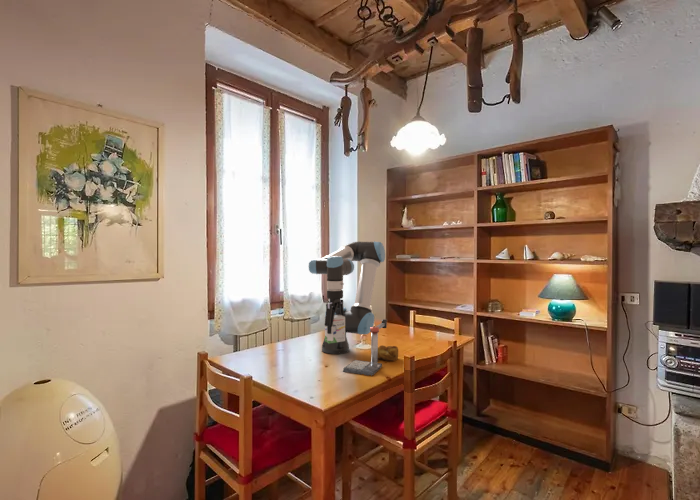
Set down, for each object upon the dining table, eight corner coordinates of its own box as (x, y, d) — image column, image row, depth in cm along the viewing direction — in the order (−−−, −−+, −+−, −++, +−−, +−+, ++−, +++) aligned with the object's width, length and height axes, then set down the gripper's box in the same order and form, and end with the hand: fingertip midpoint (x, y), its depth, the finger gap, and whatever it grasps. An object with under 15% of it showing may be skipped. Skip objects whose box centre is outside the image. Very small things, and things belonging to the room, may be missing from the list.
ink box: (340, 338, 177) (340, 314, 177) (345, 341, 173) (345, 316, 173) (324, 341, 174) (324, 315, 173) (328, 343, 169) (328, 318, 169)
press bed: (343, 371, 170) (343, 332, 170) (354, 362, 183) (355, 326, 183) (373, 376, 164) (374, 336, 164) (383, 366, 177) (383, 329, 177)
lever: (369, 334, 170) (369, 325, 170) (381, 326, 187) (381, 318, 187) (377, 335, 169) (377, 326, 169) (388, 327, 185) (388, 319, 185)
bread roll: (371, 360, 187) (371, 344, 187) (376, 355, 196) (376, 340, 196) (397, 363, 183) (397, 347, 183) (400, 357, 192) (400, 342, 192)
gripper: (331, 293, 161) (332, 344, 162) (351, 287, 181) (351, 333, 182) (316, 292, 164) (316, 343, 164) (337, 286, 184) (337, 331, 185)
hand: (335, 337), depth 173 cm, fingers closed on ink box, 9 cm apart
